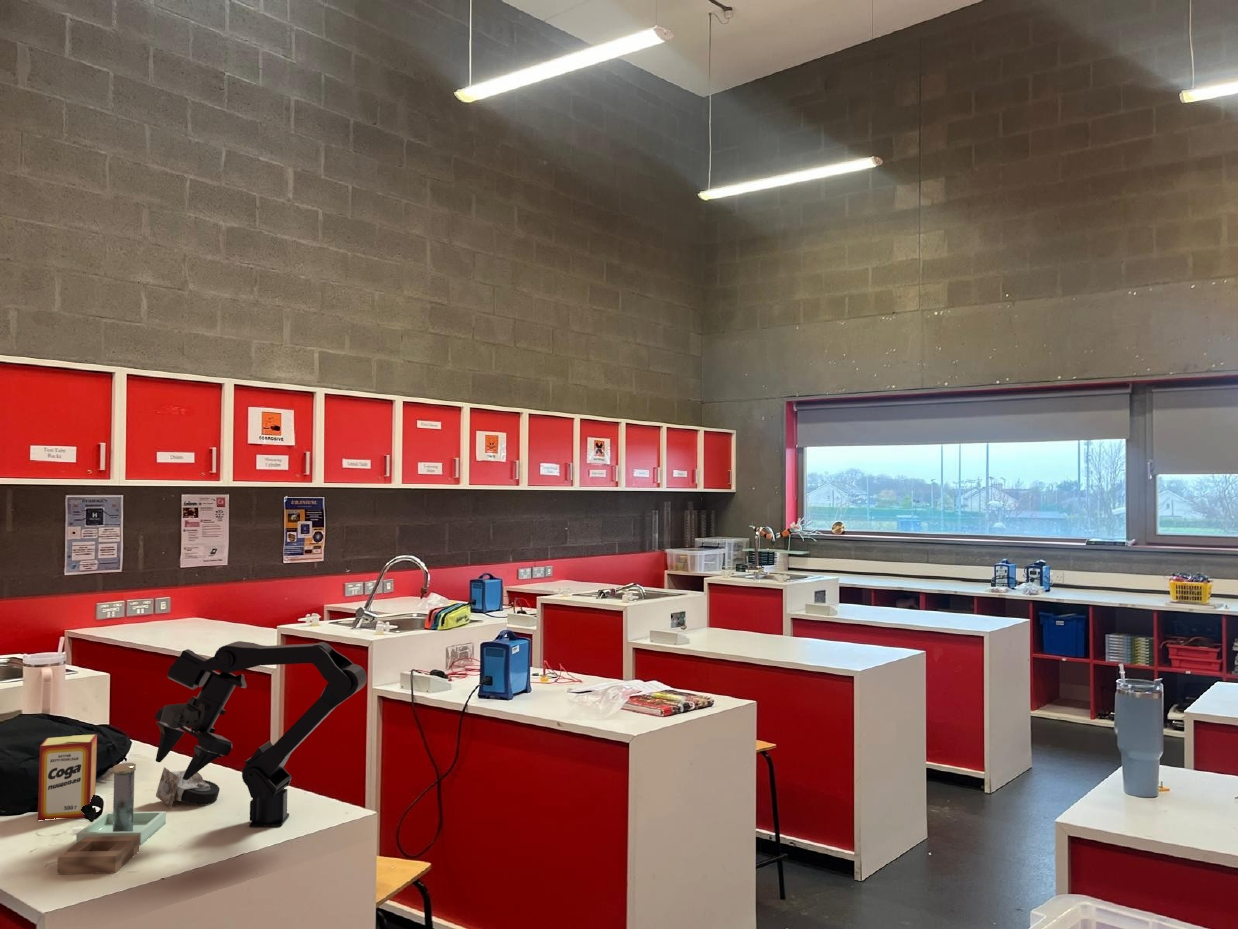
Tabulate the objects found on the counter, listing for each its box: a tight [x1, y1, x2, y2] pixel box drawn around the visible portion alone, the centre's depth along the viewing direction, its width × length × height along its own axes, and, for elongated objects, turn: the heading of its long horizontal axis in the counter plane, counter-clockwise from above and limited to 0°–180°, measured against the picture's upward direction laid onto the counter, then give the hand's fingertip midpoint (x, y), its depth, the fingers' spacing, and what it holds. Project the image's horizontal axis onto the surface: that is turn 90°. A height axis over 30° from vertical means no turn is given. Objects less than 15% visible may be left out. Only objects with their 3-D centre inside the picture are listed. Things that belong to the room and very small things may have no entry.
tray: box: [75, 810, 167, 846], centre depth 185 cm, size 12×12×2 cm
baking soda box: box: [37, 734, 98, 821], centre depth 197 cm, size 10×6×16 cm
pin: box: [112, 762, 137, 832], centre depth 185 cm, size 4×4×13 cm
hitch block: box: [56, 836, 140, 875], centre depth 172 cm, size 10×10×3 cm
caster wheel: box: [155, 766, 220, 809], centre depth 206 cm, size 7×11×10 cm
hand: (171, 770), depth 189 cm, fingers open, 9 cm apart
